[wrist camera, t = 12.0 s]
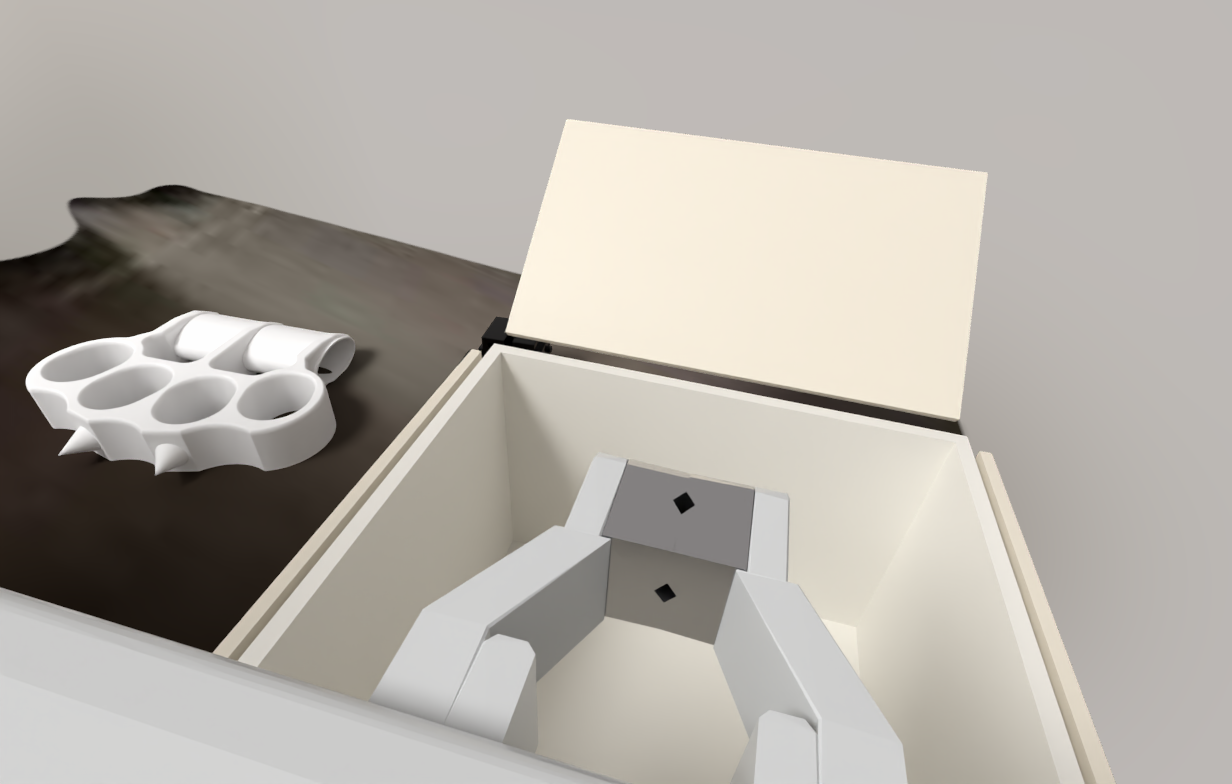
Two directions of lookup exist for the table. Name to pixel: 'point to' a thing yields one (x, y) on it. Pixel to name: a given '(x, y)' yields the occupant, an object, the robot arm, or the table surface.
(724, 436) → the carton
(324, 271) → the table surface
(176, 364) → the spiked knuckle duster
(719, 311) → the carton flap
